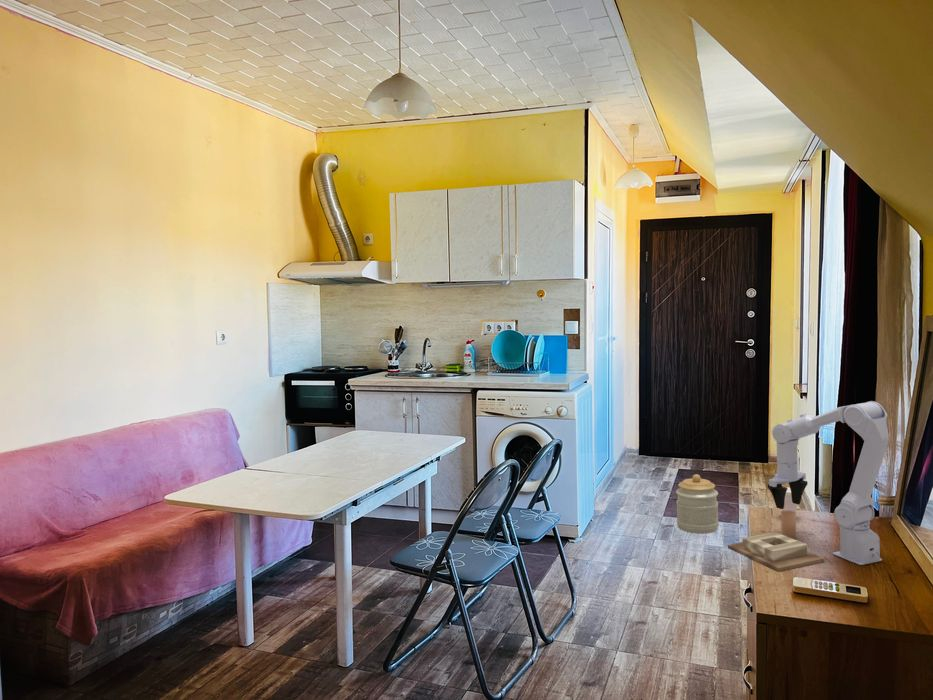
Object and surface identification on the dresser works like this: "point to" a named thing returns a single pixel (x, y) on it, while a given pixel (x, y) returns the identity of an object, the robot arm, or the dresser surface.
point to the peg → (788, 523)
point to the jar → (697, 506)
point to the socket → (776, 551)
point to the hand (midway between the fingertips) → (788, 505)
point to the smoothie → (789, 502)
